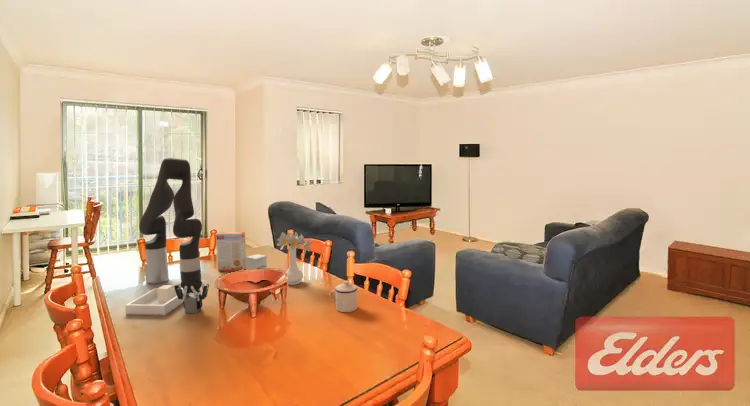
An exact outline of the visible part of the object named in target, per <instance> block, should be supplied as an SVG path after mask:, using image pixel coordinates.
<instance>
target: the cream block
mask: <svg viewBox="0 0 750 406" xmlns="http://www.w3.org/2000/svg"><path fill="white" fill-rule="evenodd" d="M156 288H157V287H156ZM173 288H174V285H173V284H172V285H168V284H167V285H166V284H163V285H161V286H159V287H158V288H157V296H158V302H168V301H170V300H171V299H173V298H174V291H173Z"/></svg>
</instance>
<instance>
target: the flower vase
mask: <svg viewBox="0 0 750 406" xmlns="http://www.w3.org/2000/svg"><path fill="white" fill-rule="evenodd" d="M310 240H311V239H310V238H308V239H307V241H306V240H305V237H304V235H303V234H302V233H300V235H299V233H298V232H297V231H295V232H294V234H292V232H288V233H287V234H286V233H285V232H283V231H282V232H281V233H280V236H279V238H277V239H276V241H277V243H276V246H278V247H280V249H279V250H283V249H284V247H285V246H287V247H288V251H289V266H288V269H287V270H286V271H285V273H287V275H288V278H289V280H288V283H287V284H288V285H291V286H295V285H299V284H300V283H301V281H302V280H303V278H304V274H303V272H302V271H301V270H300V269H299V267H298V263H297V249H302V246H303V254H304V255H306V253H307V251H308V252H311V247H310V246H312V245H313V243H314V241H312V240H311V241H310Z"/></svg>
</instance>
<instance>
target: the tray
mask: <svg viewBox="0 0 750 406" xmlns="http://www.w3.org/2000/svg"><path fill="white" fill-rule="evenodd" d="M181 289H182V292H183V293H184V289H183V288H181ZM173 291H174V298H173V299H171V300H170V301H168V302H158V296H157V287H154V288H153V289H151V290H150V291H147V292H146V293H144V294H142V295H141V296H138V297H137V298H136V299H134V300H131V301H130V302H128V303H127V304H125V306H124V308H125V309H124V310H125V315H126V316H166V315H168V314H169V313H170V312H172V311H173V310H174V309H176V308H177V307H179V306H180V305H182V304H183V300H181V299H178V297H177V294H176V291H175V289H174V287H173ZM189 295H191V293H190V294H189Z"/></svg>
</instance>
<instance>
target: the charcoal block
mask: <svg viewBox="0 0 750 406" xmlns="http://www.w3.org/2000/svg"><path fill="white" fill-rule="evenodd" d="M184 304H185V308H184V313H185V314H197V313H198V312H199V311H201V310H202V308H201V309H200V310H197V299H196V297H195V296H194V294H190V295H189V296H187V297H186V298H184ZM184 304H183V305H184Z"/></svg>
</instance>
